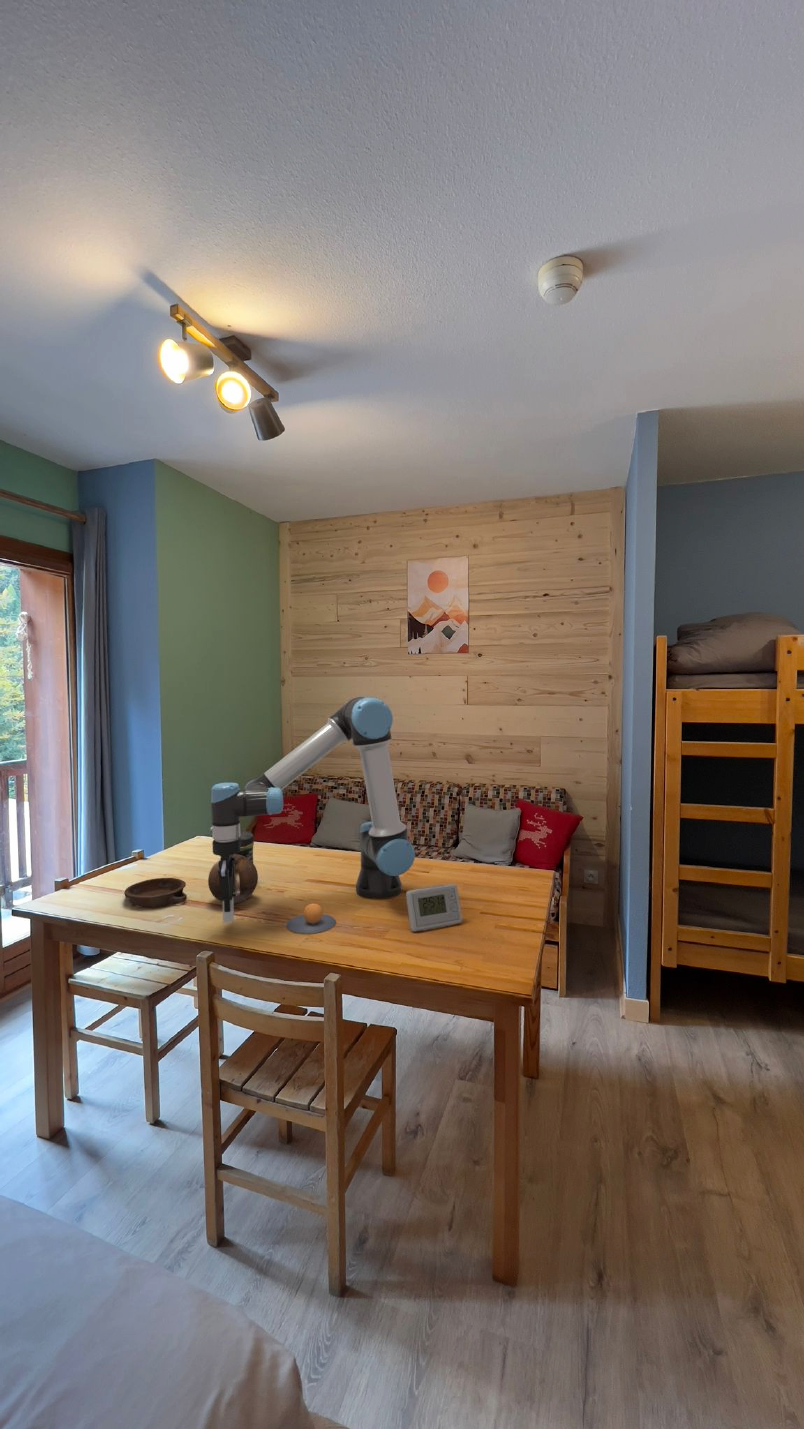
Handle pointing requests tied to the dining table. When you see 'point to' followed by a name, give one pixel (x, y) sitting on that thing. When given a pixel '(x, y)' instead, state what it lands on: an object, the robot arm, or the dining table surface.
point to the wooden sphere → (236, 879)
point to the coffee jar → (246, 845)
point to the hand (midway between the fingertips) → (228, 921)
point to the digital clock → (433, 907)
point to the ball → (313, 913)
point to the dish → (156, 892)
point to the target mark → (310, 925)
